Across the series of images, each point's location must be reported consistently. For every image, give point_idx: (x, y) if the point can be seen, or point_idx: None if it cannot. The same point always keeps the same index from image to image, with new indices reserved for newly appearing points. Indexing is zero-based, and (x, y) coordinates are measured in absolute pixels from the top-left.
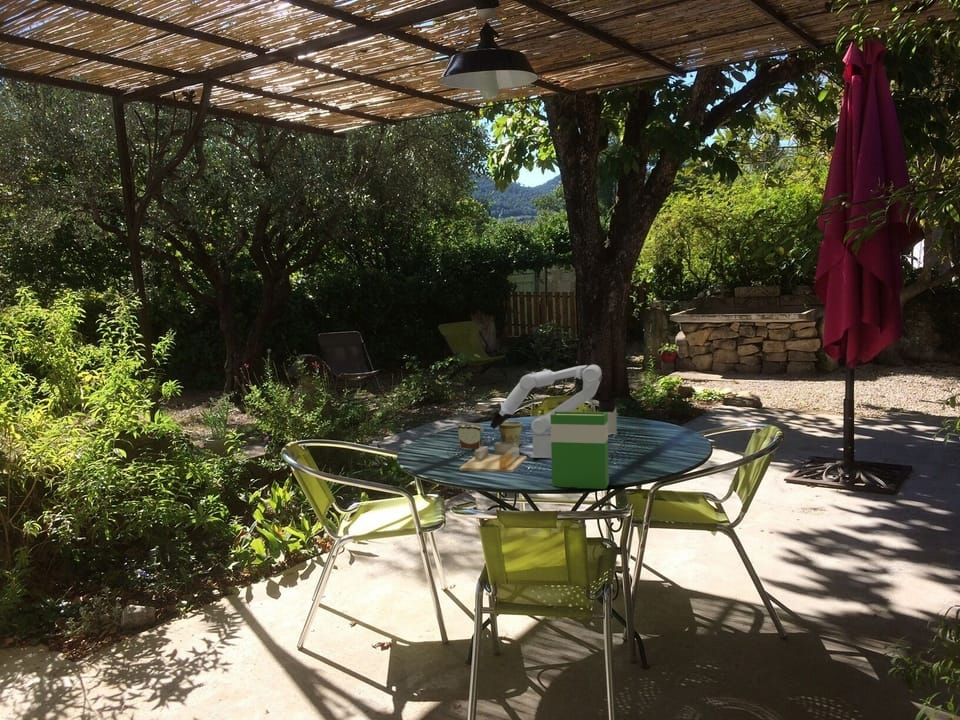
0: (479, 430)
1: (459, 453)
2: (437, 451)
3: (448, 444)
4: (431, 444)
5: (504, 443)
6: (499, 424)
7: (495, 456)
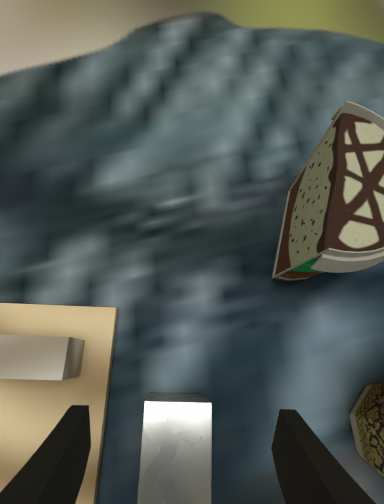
0: (316, 250)
1: (190, 209)
2: (218, 123)
3: None
4: (333, 80)
5: (161, 482)
6: (275, 458)
7: None
